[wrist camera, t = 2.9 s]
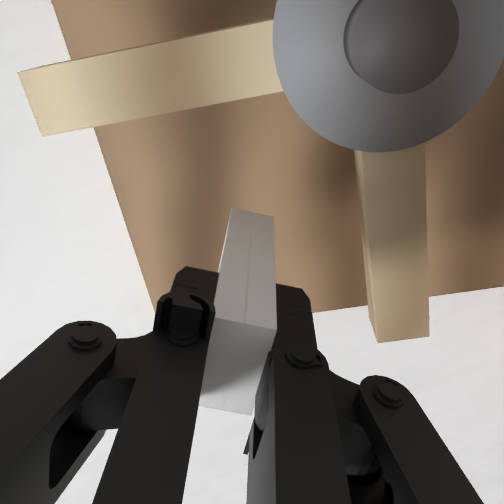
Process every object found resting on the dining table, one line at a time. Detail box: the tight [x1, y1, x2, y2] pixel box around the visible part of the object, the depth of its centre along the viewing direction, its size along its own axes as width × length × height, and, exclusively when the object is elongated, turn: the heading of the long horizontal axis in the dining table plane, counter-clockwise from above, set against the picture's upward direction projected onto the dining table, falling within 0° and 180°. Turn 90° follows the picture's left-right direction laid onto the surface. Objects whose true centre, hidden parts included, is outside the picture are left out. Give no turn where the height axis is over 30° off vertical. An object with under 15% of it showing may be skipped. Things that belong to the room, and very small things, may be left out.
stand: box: [51, 0, 504, 314], centre depth 16 cm, size 21×24×4 cm
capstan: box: [17, 0, 504, 343], centre depth 13 cm, size 22×20×4 cm
